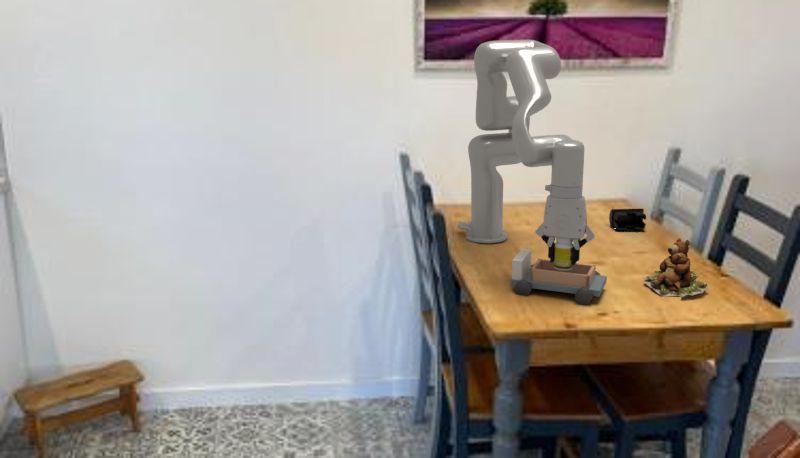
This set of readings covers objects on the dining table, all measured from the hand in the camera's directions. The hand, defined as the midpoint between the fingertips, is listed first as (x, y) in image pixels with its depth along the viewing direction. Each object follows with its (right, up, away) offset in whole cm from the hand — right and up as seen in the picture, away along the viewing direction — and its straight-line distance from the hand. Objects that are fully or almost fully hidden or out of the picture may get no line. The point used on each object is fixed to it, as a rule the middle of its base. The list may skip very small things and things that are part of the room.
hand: (563, 261), depth 193 cm
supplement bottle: (0, -2, +1) cm, 2 cm away
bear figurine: (+29, -7, +4) cm, 30 cm away
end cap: (+31, +8, +53) cm, 62 cm away
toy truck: (-1, -8, +3) cm, 8 cm away
